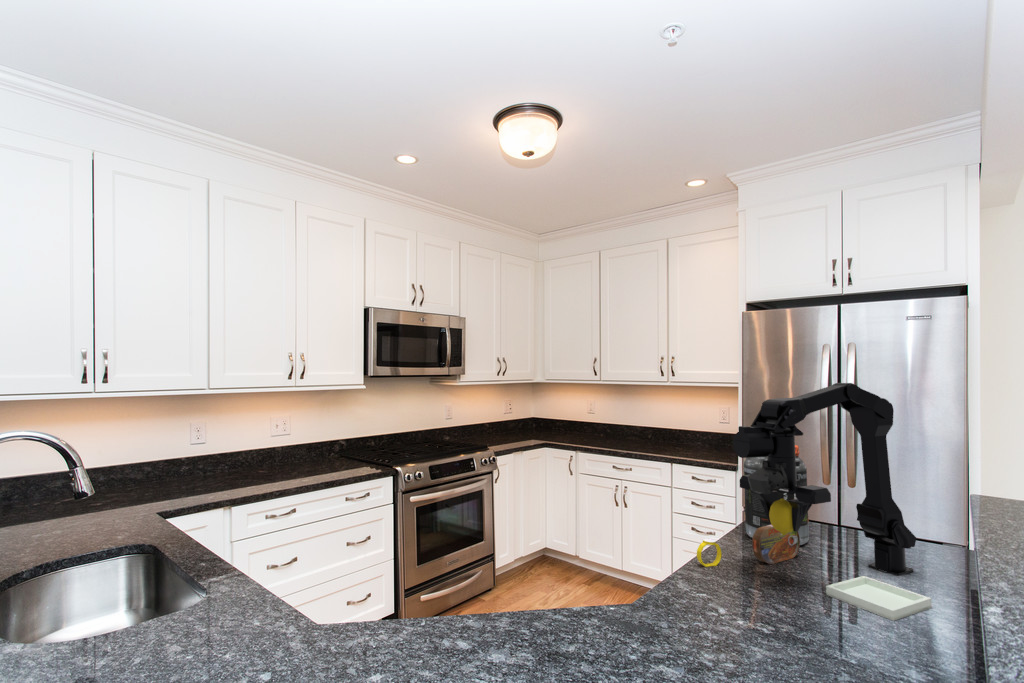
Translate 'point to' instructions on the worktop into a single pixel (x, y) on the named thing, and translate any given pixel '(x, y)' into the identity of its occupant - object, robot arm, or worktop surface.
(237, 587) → the worktop surface
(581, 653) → the worktop surface
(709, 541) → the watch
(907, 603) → the tray
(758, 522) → the supplement tub
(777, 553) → the tin
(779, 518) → the lemon
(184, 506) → the worktop surface
